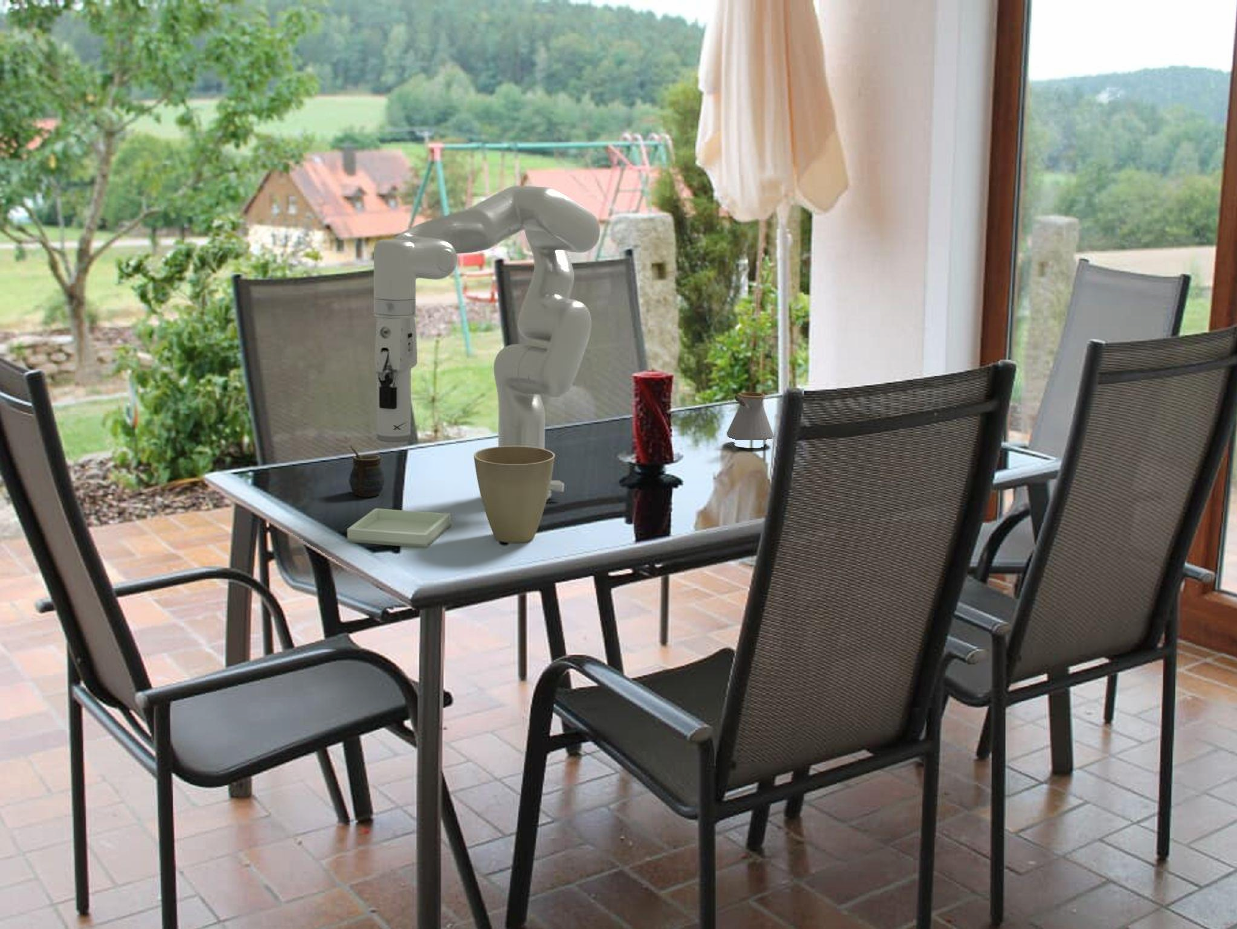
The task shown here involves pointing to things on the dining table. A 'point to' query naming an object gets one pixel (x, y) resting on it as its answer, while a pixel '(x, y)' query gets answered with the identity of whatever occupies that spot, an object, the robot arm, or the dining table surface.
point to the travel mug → (396, 421)
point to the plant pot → (514, 489)
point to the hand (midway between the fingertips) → (394, 404)
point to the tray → (399, 528)
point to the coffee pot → (750, 418)
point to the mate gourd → (366, 475)
